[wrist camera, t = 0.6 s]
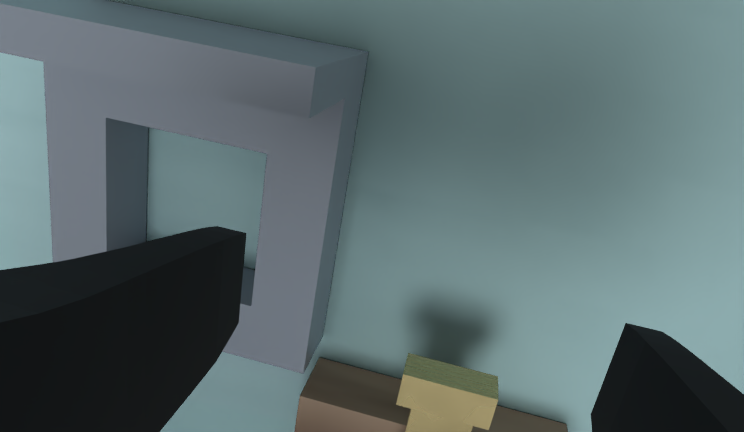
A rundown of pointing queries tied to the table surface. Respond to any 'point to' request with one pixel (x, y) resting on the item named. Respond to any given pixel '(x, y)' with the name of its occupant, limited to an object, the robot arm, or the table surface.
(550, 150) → the table surface
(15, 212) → the table surface
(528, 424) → the socket block
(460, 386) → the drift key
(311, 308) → the grey square frame
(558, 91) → the table surface
